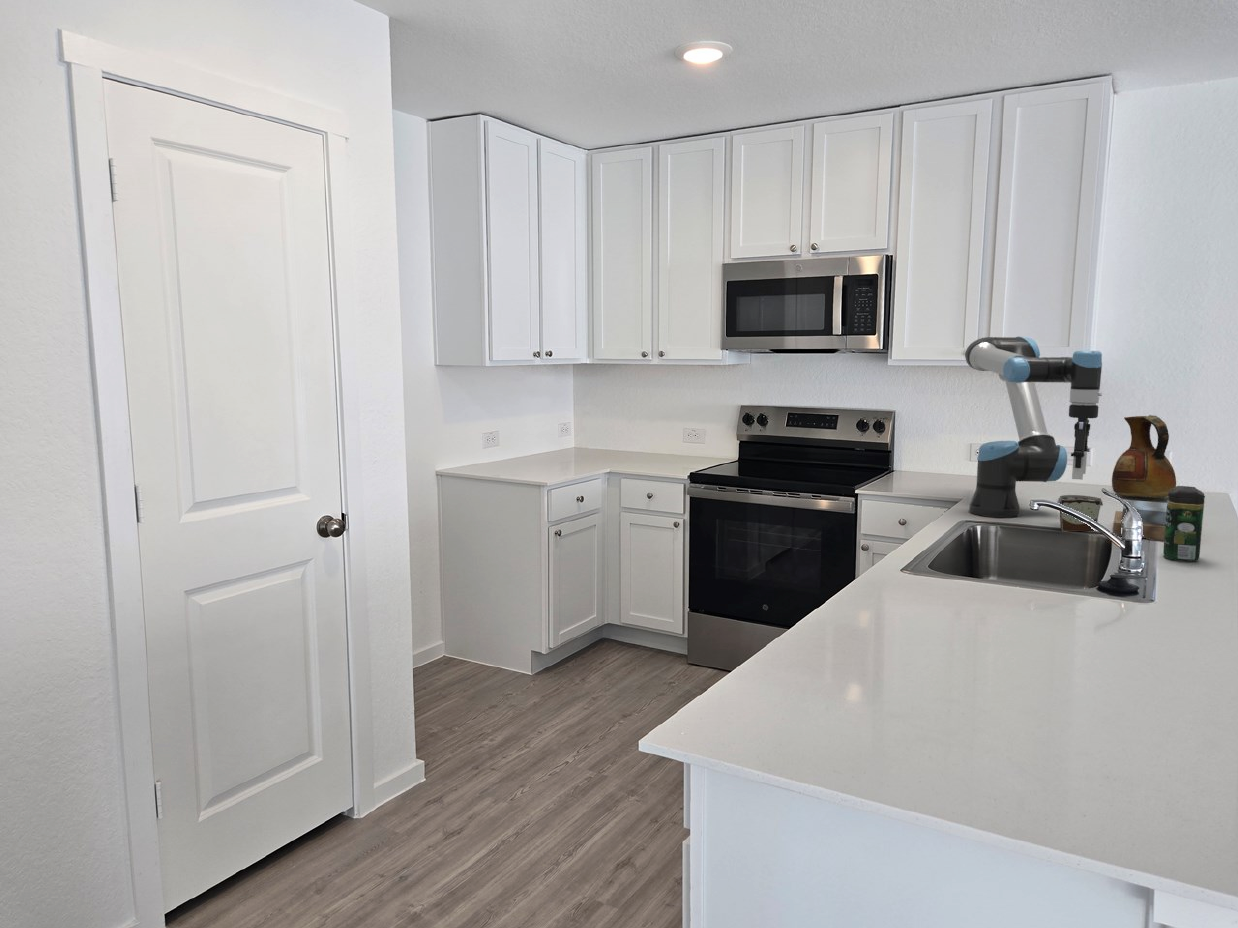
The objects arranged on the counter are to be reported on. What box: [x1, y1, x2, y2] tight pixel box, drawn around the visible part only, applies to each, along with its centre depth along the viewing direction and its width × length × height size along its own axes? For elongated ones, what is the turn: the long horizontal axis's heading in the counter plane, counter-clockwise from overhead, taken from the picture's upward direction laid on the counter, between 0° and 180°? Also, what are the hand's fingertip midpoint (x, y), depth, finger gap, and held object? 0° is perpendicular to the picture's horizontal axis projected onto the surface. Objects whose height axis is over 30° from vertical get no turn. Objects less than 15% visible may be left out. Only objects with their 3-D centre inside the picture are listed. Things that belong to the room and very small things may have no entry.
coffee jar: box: [1162, 485, 1206, 563], centre depth 220 cm, size 10×8×19 cm
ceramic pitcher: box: [1111, 414, 1177, 498], centre depth 306 cm, size 20×20×30 cm
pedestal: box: [1112, 499, 1167, 542], centre depth 250 cm, size 20×20×8 cm
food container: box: [1056, 494, 1104, 533], centre depth 255 cm, size 12×6×10 cm, turn 84°
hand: (1078, 476), depth 253 cm, fingers open, 13 cm apart
